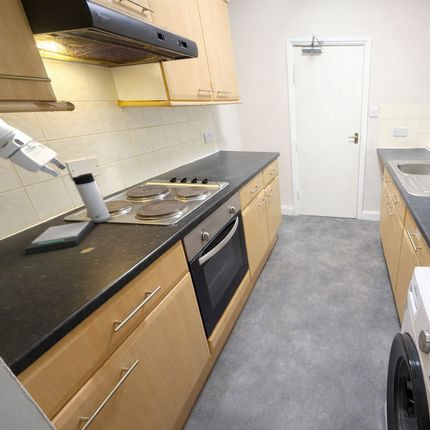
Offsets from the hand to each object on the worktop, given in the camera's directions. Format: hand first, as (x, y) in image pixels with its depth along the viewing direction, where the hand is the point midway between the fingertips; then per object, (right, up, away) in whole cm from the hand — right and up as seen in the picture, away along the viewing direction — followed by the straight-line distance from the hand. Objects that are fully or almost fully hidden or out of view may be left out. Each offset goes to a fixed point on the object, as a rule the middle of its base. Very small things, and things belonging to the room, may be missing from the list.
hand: (61, 171), depth 101 cm
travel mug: (+7, -19, +11) cm, 23 cm away
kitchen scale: (+4, -25, -3) cm, 26 cm away
